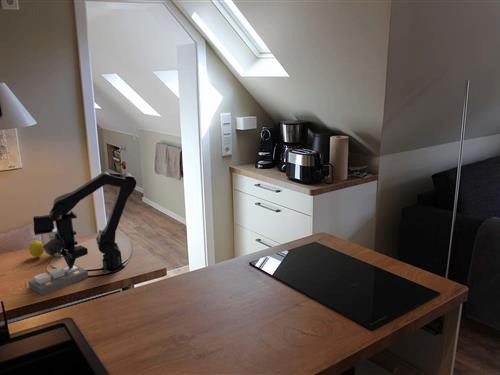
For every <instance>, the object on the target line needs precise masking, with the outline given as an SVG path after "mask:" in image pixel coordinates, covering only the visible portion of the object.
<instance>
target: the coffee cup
mask: <svg viewBox="0 0 500 375" xmlns="http://www.w3.org/2000/svg"><path fill="white" fill-rule="evenodd" d="M54 228H55V229H54V230H53V231H52V233H47V236H48V238H49V241H50V240H53V239H54V238H55V233H57V228H56V225H54ZM53 256H54V257H56V256H61V254H59V253H55V254H54V255H53Z"/></svg>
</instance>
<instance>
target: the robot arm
mask: <svg viewBox="0 0 500 375" xmlns="http://www.w3.org/2000/svg"><path fill="white" fill-rule="evenodd" d="M106 185H109V186H113V187H116V188H117V190H116V191H117V192H116V193H117V194H116V197H115V199H114V203H113V205H112V208H111V211H110V214H109V215H108V219H107V223H106V225H105V227H104V229H103V230H101V229H99V230H98V235H97V236H96V238H95V240H96V244H97V247H98V250H99V252H100V253H101V254H102V267H101V269H104V270H105V271H106V272H109V273H113V272H115V271H117V270H118V271H119V270H120V269H123V268H124V267H125V265H124V264H123V260H122V252H121V250H120V247H119V245H118V243H117V242H116V234H117V233H116V232H117V229H118V227H119V223H120V220H121V217H122V215H123V212H124V209H125V206H126V203H127V202H128V199H129V198H130V196H131V195H132V194H133V192H134V190H135V189H136V187H137V180H136V179H135V177H134V176H133V175H132V174H131V173H128V172H123V173H116V172H107V171H102V172H101V173H100V174H98V175H96V177H94V178H91V179H90V180H89V181H87V182H86V183H84V184H82V185H81V186H80V187H78V188H77V189H74V190H73V191H71V192H68V193H65V194H62V195H60V196H57V197H55V199H54V200H53V202H52V206H53V207H52V208H51V209H50V211H49V212H48V213H49V214H46V215H35V216H33V218H32V220H33V232H34V235H35V236H37V235H44V234H45V235H46V234H48V233H52V231H53V230H54V229H55V228H54V226H56V228H57V233H55V238H54V239H53V240H50V239H49V241H48V242H46V243H45V244H43V249H44V251H45V253H46V255H49V256H50V257H52V256H55V255H54V254H55V253H59V254H61V255H62V257H63V259H64V261H65V263H66V265H67V266H68V267H69V268H70V269H71V268H73V265H74V264H75V263H76V260H77V259H78V258H82V257H84V256H86V255H88V254H89V250H88V248H87V247H85V246H83V245H80V244H78V241H76V239H75V238H76V237H75V235H77V231H76V230H74V224H73V219H78V216H77V215H78V214H77V213H75V212H74V211H73V209H74V208H75V207H76V206H77V204H79V202H81V201H82V200H84V199H86V197H89V196H90V195H92V194H93V193H95V192H96V191H97V190H99V189H101V188H102V187H104V186H106Z"/></svg>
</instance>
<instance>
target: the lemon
mask: <svg viewBox="0 0 500 375" xmlns="http://www.w3.org/2000/svg"><path fill="white" fill-rule="evenodd" d="M43 246H44V244H43V243H42V242H41V241H40V240H36V239H34V240H32V241H31V243H30V244H29V247H28V250H29V254H30V255H31V256H32V257H36V258H40V257H41V256H42V255H43V253H44V251H45V250H44V249H43Z"/></svg>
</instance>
